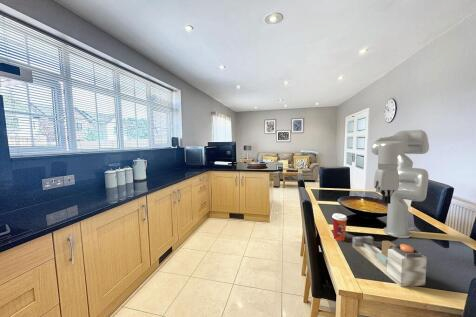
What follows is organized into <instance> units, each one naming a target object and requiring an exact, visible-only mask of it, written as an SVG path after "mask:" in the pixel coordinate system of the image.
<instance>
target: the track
mask: <svg viewBox="0 0 476 317" xmlns="http://www.w3.org/2000/svg"><path fill="white" fill-rule="evenodd" d="M351 245H352V246H351V247H352V248H353V249H354V250H356V251H357V252H358V253H359V254H360V255H362V256H363V257H364V258H365V259H367V260H368V261H369V262H370V263H371V264H372V265H374V266H375V267H376V268H378V270H380V271H381V272H383V274H384V275H385V276H387V277H388V278H389V279H391V280H392V281H393V282H394V283H395V284H397V285H398V286H399V287H400V288H403V287H417V286H425V285H426V277H427V259H428V257H427V256H426V255H423V253H422V252H420V251H418V250H417V249H415V248H414V253H405V252H404V251H402V250H400V245H401V244H399V245H398V244H397V245H396V244H395V246H393V249H388V259H387V266H385V265H384V264H383V263H382V262H380V261H379V260H378V257H377V256H376V255H377V253H382V249H381V250H380V249H379V248H378V247H376V246H375V245H374V237H373V236H371V235H368V236H367V235H364V236H352V244H351Z"/></svg>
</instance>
